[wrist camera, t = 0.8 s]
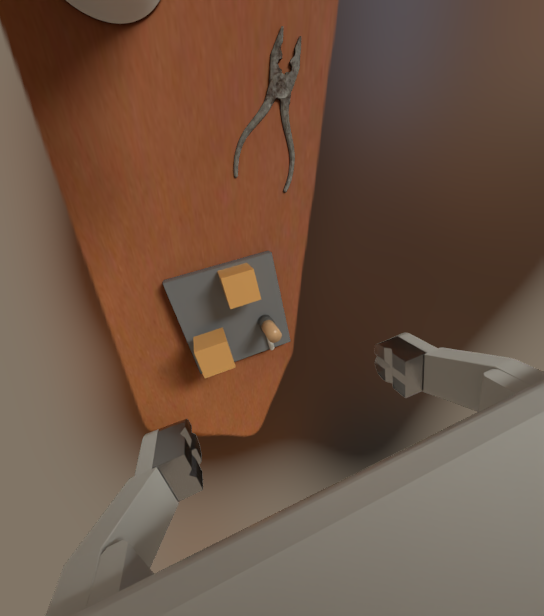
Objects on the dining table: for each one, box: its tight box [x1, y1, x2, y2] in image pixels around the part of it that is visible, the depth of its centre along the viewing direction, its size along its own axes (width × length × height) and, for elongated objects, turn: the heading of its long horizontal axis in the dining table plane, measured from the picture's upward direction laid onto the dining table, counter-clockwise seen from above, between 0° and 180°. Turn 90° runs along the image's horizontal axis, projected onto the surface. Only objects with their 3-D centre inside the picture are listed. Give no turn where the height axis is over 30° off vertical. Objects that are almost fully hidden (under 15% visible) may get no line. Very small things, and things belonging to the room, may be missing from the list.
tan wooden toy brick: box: [217, 263, 261, 309], centre depth 40 cm, size 5×5×5 cm
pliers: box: [234, 26, 301, 192], centre depth 37 cm, size 10×1×20 cm
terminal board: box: [163, 251, 290, 378], centre depth 42 cm, size 18×18×9 cm
